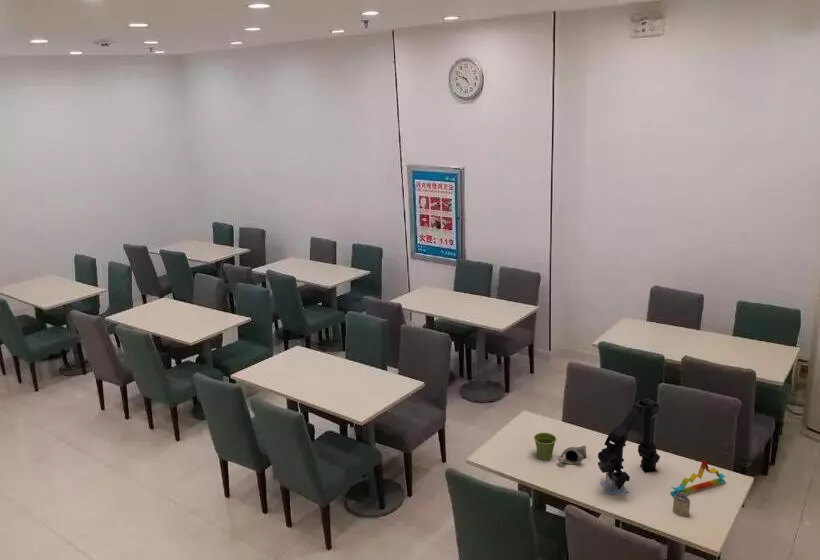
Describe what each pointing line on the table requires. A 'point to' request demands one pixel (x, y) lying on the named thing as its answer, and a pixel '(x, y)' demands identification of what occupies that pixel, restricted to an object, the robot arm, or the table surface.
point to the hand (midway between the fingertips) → (614, 483)
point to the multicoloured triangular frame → (702, 485)
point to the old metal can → (681, 504)
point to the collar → (612, 482)
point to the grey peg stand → (613, 491)
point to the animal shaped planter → (573, 455)
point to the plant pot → (544, 445)
